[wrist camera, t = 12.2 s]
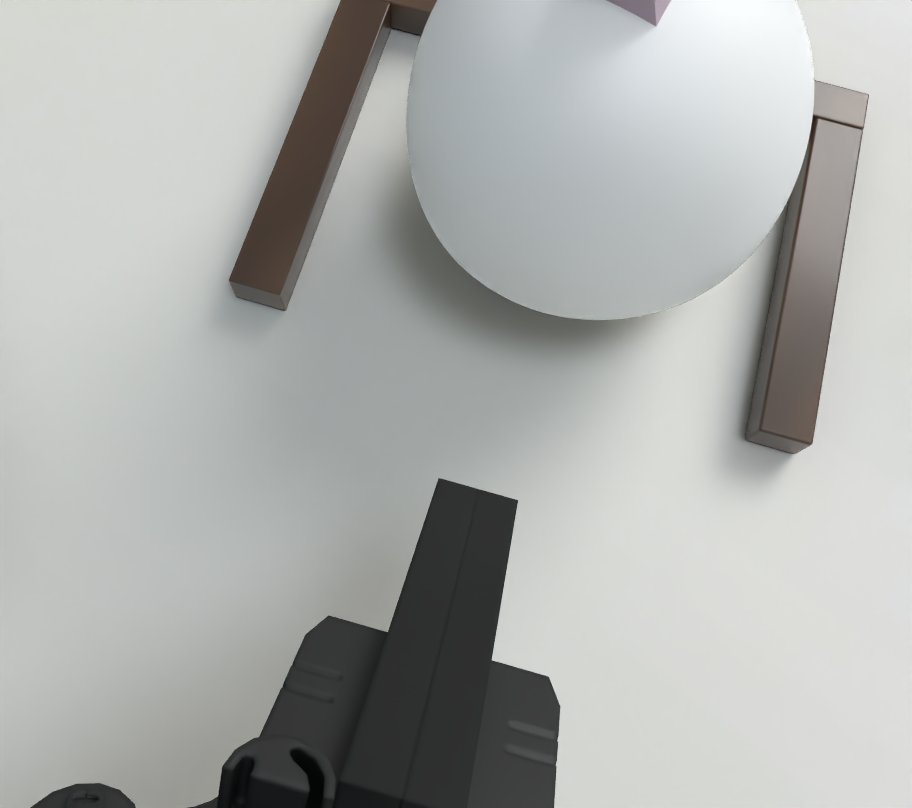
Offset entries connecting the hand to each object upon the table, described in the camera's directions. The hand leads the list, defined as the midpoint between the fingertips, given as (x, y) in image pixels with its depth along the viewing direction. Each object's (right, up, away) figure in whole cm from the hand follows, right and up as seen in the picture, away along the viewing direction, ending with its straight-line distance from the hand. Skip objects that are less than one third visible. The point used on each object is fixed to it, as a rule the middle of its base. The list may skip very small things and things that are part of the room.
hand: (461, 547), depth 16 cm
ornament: (+4, +9, +12) cm, 15 cm away
